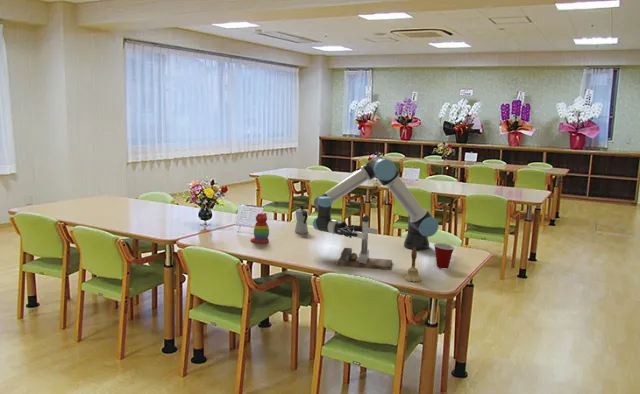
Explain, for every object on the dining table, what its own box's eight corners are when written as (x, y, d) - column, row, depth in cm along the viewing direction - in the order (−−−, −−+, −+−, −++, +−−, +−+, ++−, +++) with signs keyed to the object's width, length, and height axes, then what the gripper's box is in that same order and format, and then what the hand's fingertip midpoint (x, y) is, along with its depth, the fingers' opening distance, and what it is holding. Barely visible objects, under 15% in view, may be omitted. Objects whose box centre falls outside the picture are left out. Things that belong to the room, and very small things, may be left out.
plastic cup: (453, 271, 282) (455, 248, 280) (432, 269, 284) (434, 247, 282) (453, 265, 292) (454, 243, 290) (432, 263, 294) (433, 242, 292)
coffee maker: (291, 230, 364) (292, 204, 361) (304, 229, 367) (304, 203, 364) (299, 235, 350) (300, 208, 347) (312, 234, 354) (313, 207, 351)
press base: (391, 262, 294) (392, 250, 293) (390, 269, 281) (390, 257, 280) (340, 258, 300) (341, 246, 298) (336, 265, 286) (337, 253, 285)
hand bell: (402, 276, 269) (404, 245, 267) (418, 276, 270) (420, 245, 268) (406, 282, 261) (408, 250, 259) (423, 282, 262) (425, 250, 259)
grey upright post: (368, 258, 295) (370, 213, 291) (366, 263, 284) (368, 217, 280) (361, 257, 296) (363, 213, 292) (358, 263, 285) (360, 216, 281)
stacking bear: (265, 239, 338) (265, 211, 335) (272, 242, 330) (273, 213, 327) (249, 241, 332) (249, 212, 329) (256, 244, 324) (257, 215, 321)
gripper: (350, 230, 309) (382, 236, 296) (323, 237, 289) (356, 244, 276) (351, 217, 307) (383, 223, 294) (324, 224, 288) (356, 230, 275)
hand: (370, 233), depth 285 cm, fingers open, 13 cm apart
